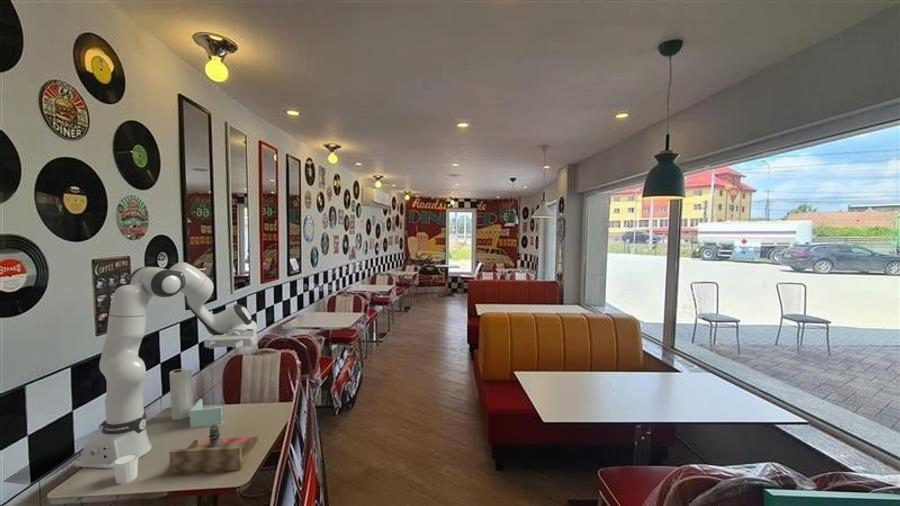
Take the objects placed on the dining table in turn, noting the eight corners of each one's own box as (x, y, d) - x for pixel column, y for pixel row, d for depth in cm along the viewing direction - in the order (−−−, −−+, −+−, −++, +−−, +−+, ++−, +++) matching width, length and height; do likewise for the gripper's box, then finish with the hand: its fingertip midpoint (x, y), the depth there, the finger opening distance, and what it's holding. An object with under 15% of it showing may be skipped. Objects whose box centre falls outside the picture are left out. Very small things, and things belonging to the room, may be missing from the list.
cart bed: (170, 474, 139) (169, 452, 139) (202, 441, 160) (201, 422, 159) (240, 470, 141) (239, 448, 141) (262, 438, 162) (261, 419, 162)
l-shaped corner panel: (222, 424, 174) (221, 407, 173) (190, 428, 171) (189, 410, 170) (229, 411, 185) (229, 396, 185) (200, 415, 182) (199, 398, 182)
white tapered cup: (108, 484, 134) (106, 464, 133) (127, 471, 141) (126, 452, 140) (126, 486, 133) (124, 465, 132) (144, 473, 140) (143, 454, 139)
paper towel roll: (168, 420, 178) (165, 372, 176) (180, 413, 184) (177, 367, 182) (182, 421, 176) (179, 373, 175) (193, 415, 182) (191, 368, 181)
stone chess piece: (216, 460, 145) (214, 428, 144) (202, 458, 146) (200, 426, 145) (228, 451, 150) (226, 420, 149) (214, 449, 152) (213, 418, 151)
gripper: (212, 331, 181) (196, 339, 168) (259, 329, 183) (247, 338, 170) (213, 344, 182) (197, 354, 168) (260, 343, 184) (248, 352, 170)
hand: (222, 346), depth 169 cm, fingers open, 8 cm apart
